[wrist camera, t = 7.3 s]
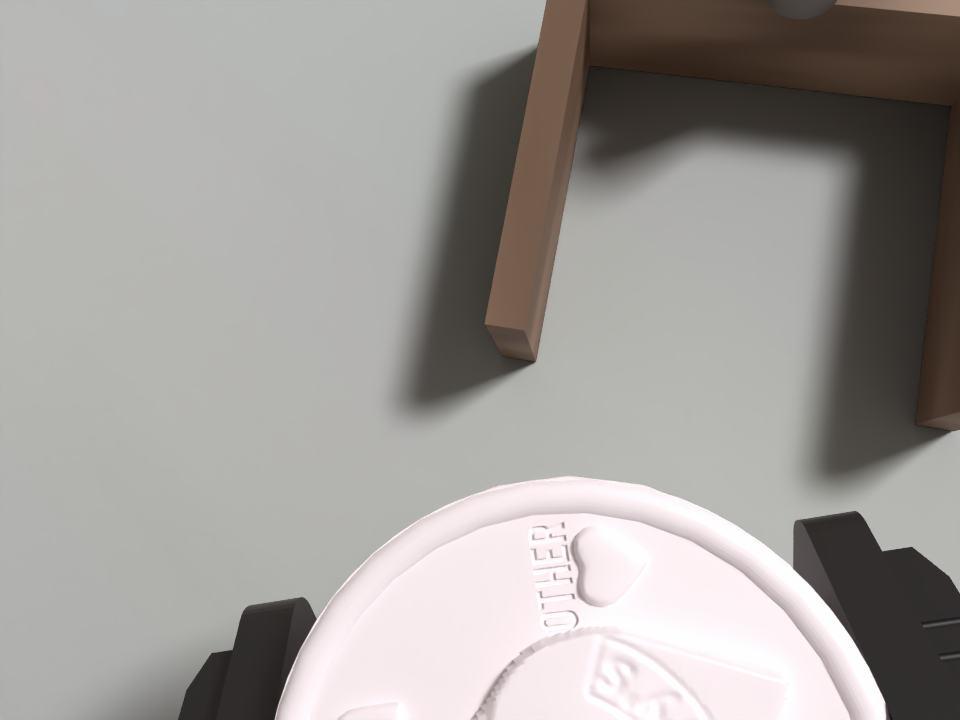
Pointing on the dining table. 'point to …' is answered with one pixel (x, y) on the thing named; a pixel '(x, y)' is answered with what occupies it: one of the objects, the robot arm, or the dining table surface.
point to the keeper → (738, 58)
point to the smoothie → (577, 619)
